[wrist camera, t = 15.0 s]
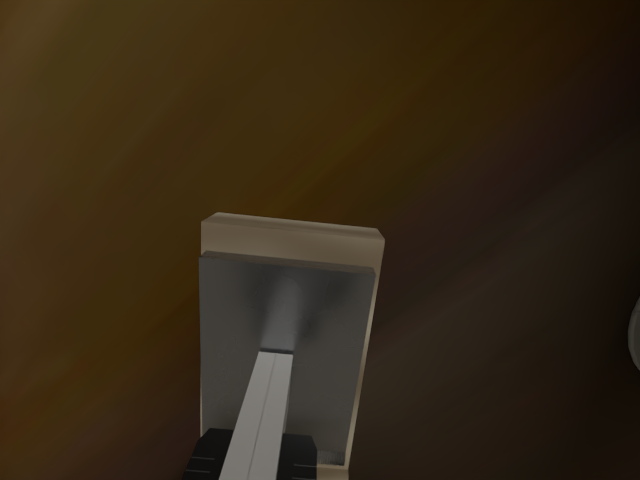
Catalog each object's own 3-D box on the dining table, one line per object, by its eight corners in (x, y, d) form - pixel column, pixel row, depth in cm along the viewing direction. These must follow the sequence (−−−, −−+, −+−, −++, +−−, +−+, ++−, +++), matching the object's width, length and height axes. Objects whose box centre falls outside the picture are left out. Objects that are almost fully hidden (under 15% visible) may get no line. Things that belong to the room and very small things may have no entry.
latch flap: (207, 248, 14) (196, 259, 12) (372, 265, 14) (376, 277, 13) (209, 437, 17) (201, 459, 16) (342, 449, 17) (343, 472, 16)
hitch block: (217, 212, 16) (139, 256, 9) (377, 228, 16) (415, 284, 9) (212, 540, 22) (162, 711, 15) (327, 550, 22) (329, 724, 15)
